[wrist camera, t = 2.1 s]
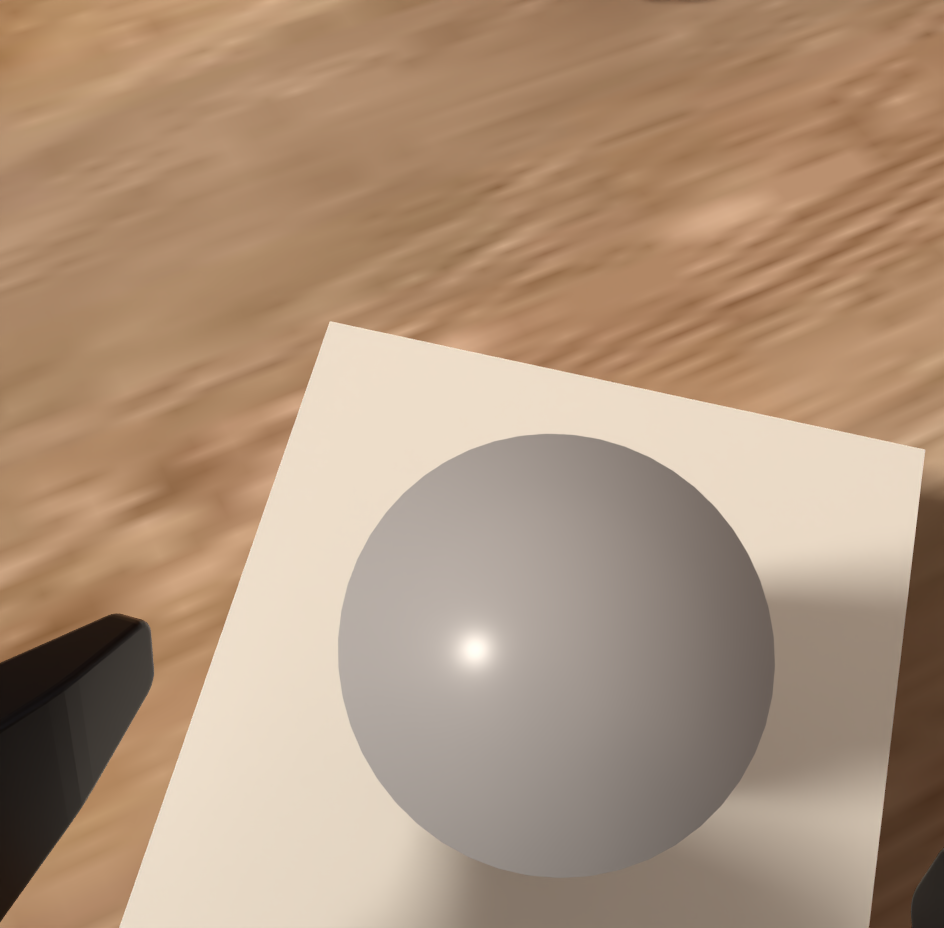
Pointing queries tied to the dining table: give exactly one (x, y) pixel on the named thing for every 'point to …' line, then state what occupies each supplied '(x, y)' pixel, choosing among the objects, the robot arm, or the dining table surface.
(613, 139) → the dining table surface
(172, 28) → the dining table surface
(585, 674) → the cream bowl cover
